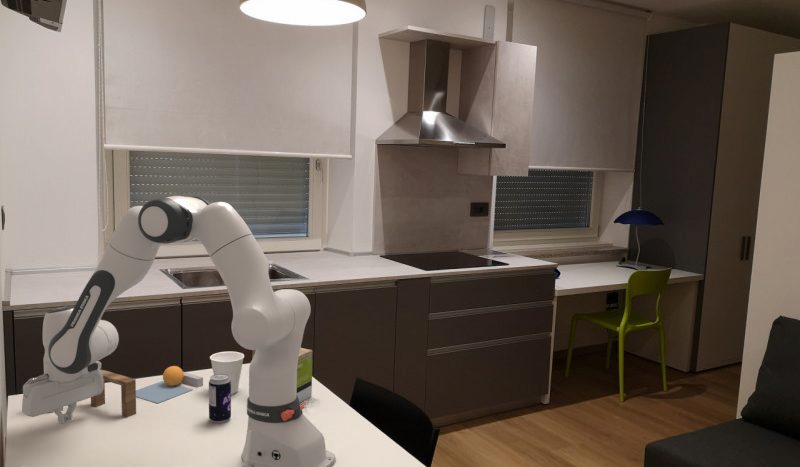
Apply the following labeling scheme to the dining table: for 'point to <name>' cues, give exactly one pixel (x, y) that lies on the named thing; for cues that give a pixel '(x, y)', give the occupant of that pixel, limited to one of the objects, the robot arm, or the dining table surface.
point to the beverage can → (219, 398)
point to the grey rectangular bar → (192, 380)
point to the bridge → (126, 392)
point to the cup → (228, 366)
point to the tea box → (303, 374)
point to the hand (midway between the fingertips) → (65, 421)
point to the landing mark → (160, 392)
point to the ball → (173, 376)
